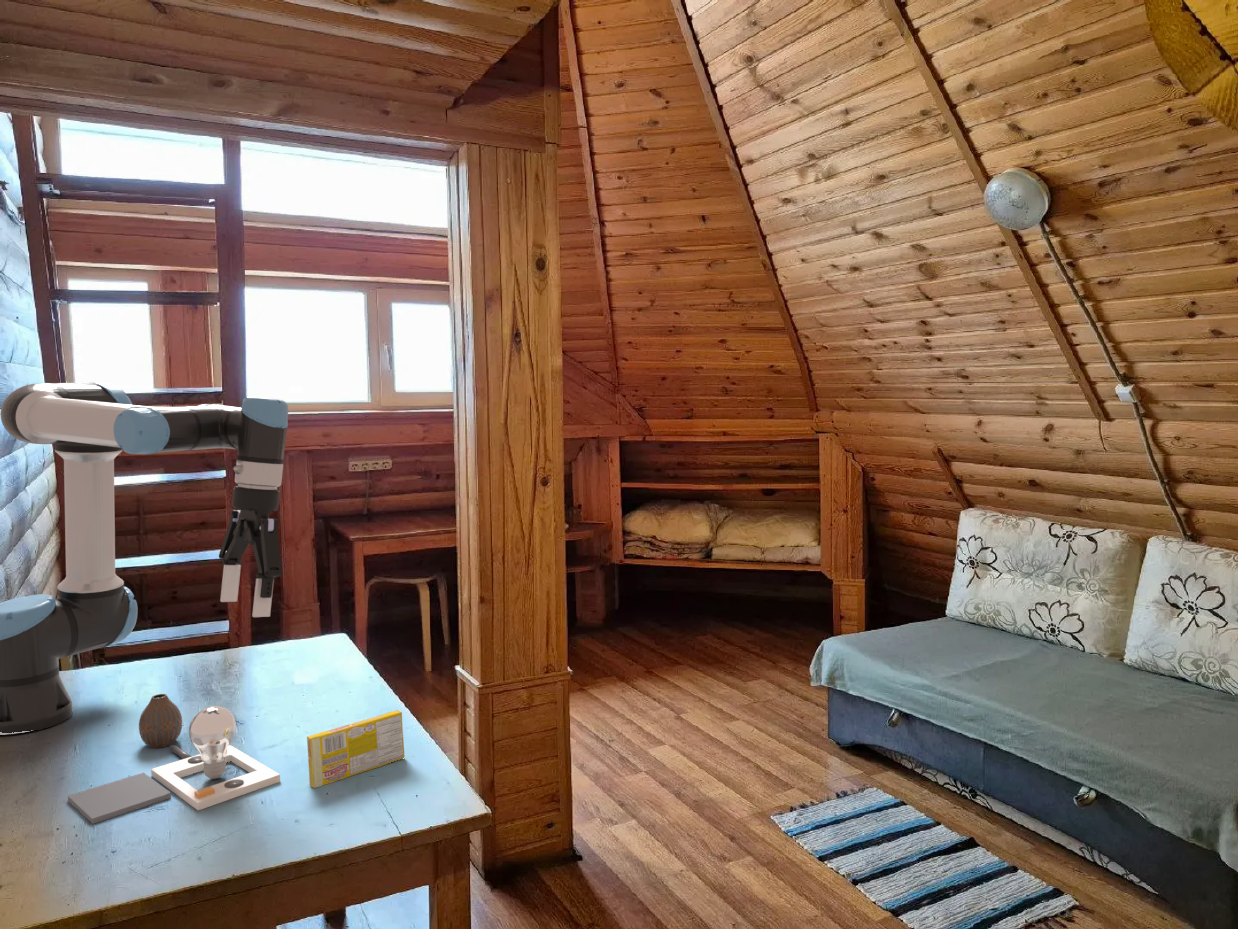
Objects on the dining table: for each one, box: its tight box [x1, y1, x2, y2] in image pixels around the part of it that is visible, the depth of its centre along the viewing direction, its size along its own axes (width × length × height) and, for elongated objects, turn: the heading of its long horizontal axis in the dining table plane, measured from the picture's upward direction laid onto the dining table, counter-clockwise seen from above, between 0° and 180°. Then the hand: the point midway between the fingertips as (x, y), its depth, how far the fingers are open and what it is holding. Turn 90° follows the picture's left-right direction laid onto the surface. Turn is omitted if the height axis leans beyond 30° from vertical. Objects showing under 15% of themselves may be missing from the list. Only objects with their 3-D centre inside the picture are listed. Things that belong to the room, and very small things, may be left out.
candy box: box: [306, 710, 406, 789], centre depth 147 cm, size 16×2×8 cm, turn 133°
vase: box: [138, 693, 183, 749], centre depth 159 cm, size 7×7×9 cm
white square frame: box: [150, 744, 281, 811], centre depth 147 cm, size 26×13×2 cm, turn 48°
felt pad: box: [67, 772, 172, 825], centre depth 138 cm, size 11×11×1 cm
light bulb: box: [188, 705, 237, 781], centre depth 144 cm, size 7×7×12 cm
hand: (244, 609), depth 154 cm, fingers open, 13 cm apart
